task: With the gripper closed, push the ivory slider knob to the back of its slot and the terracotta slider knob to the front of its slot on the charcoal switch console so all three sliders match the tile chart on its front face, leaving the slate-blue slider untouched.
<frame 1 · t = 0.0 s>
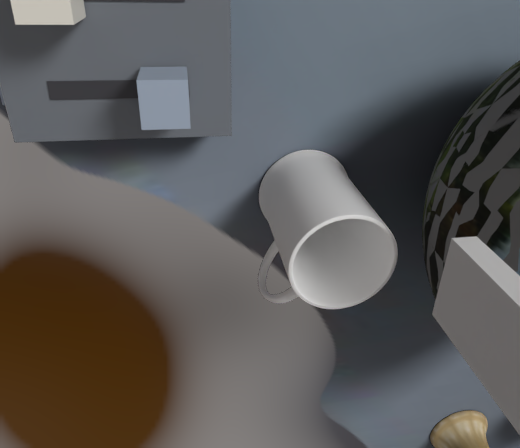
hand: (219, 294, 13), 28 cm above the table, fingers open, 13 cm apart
hand bell: (457, 428, 66), on the table
mug: (290, 203, 44), on the table
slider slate: (165, 96, 30), point 7 cm above the table, slide at 6.0 cm
decorative globe: (515, 154, 45), on the table
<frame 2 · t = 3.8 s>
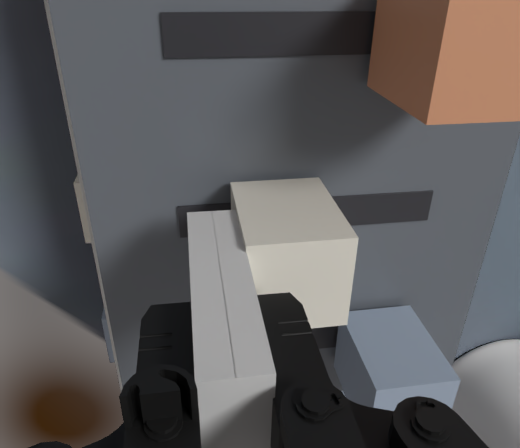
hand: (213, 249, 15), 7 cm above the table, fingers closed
slider ivory: (285, 249, 15), point 7 cm above the table, slide at 1.7 cm, touching gripper
console: (281, 161, 21), on the table
mug: (466, 397, 32), on the table
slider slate: (389, 372, 18), point 7 cm above the table, slide at 6.0 cm
slider terracotta: (455, 43, 12), point 7 cm above the table, slide at 6.0 cm
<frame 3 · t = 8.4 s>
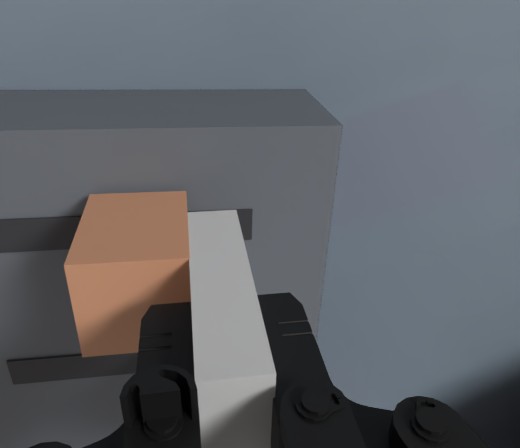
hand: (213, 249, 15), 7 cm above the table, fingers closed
console: (141, 285, 23), on the table
slider terracotta: (139, 266, 14), point 7 cm above the table, slide at 3.9 cm, touching gripper
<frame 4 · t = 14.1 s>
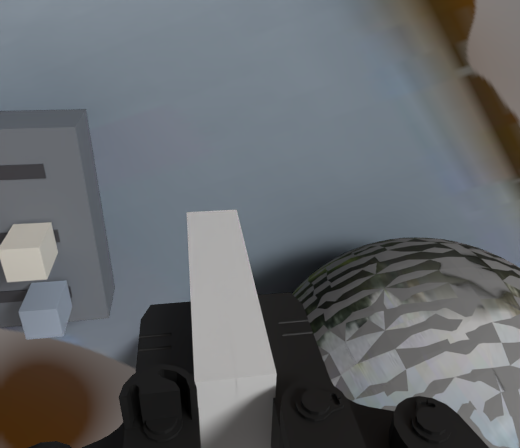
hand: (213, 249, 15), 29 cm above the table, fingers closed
slider ivory: (29, 251, 38), point 7 cm above the table, slide at 5.8 cm
console: (18, 211, 44), on the table
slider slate: (47, 309, 41), point 7 cm above the table, slide at 6.0 cm
decorative globe: (361, 298, 56), on the table
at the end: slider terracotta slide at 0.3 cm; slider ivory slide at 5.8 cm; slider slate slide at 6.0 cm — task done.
